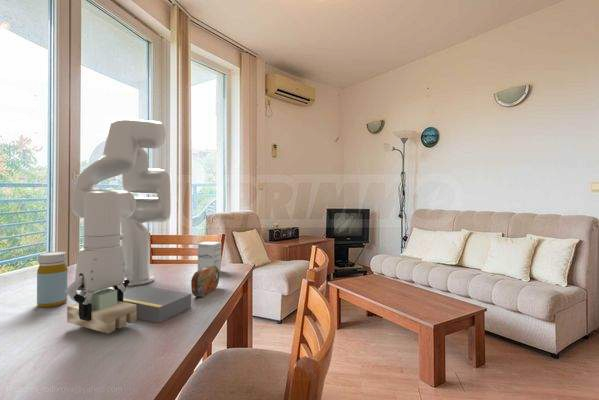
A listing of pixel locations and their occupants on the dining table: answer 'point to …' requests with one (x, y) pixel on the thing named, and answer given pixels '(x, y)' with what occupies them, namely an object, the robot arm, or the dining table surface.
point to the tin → (205, 281)
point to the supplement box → (209, 255)
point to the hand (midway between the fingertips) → (102, 312)
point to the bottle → (51, 279)
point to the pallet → (104, 316)
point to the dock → (156, 302)
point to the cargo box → (103, 298)
